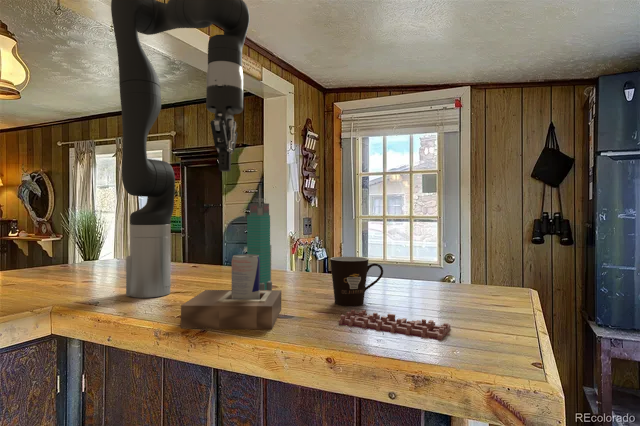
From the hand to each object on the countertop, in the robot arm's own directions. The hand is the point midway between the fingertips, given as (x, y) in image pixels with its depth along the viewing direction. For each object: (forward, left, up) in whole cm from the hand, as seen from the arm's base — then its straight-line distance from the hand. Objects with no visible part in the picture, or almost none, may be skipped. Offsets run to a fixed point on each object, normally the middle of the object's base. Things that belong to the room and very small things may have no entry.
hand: (224, 171), depth 84 cm
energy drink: (+6, -7, -29) cm, 31 cm away
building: (+5, +14, -29) cm, 33 cm away
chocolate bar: (+34, -12, -30) cm, 47 cm away
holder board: (+4, -7, -29) cm, 30 cm away
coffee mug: (+28, +6, -29) cm, 41 cm away
